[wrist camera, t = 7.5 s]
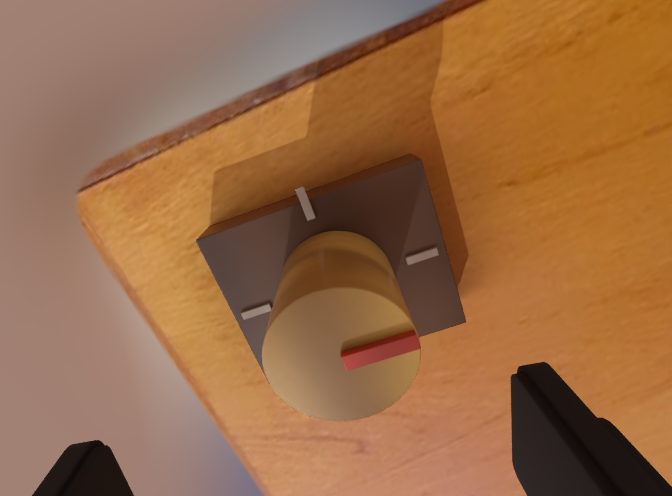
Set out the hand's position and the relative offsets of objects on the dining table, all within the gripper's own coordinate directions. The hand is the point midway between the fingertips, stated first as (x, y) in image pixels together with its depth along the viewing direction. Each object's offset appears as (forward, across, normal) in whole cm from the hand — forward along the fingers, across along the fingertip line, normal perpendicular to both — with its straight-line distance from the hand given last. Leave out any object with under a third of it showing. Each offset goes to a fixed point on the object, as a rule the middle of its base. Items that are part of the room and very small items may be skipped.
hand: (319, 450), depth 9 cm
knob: (+9, -1, 0) cm, 9 cm away
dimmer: (+11, -1, 0) cm, 11 cm away
